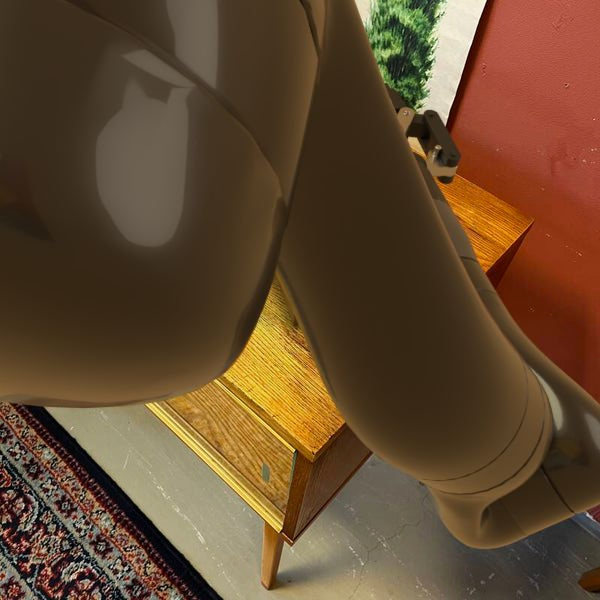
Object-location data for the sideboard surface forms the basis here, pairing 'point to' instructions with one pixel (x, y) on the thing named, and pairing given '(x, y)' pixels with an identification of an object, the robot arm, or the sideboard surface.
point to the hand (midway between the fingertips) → (330, 97)
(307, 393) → the sideboard surface
